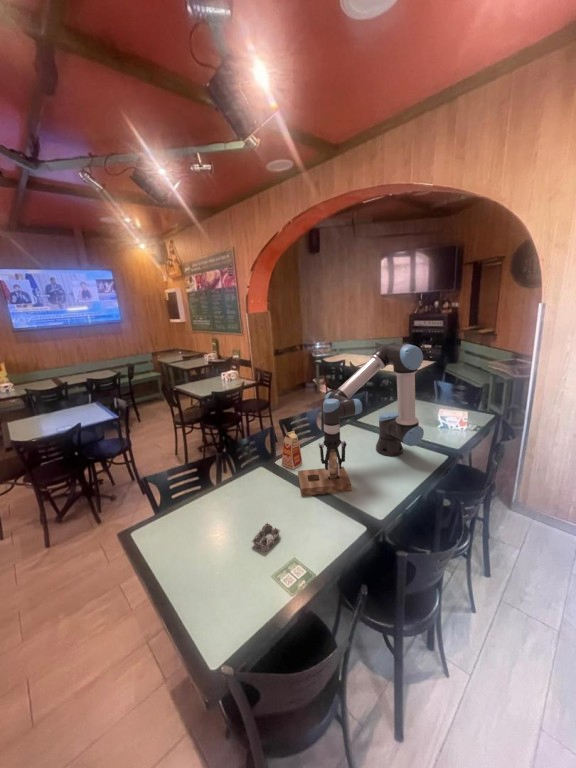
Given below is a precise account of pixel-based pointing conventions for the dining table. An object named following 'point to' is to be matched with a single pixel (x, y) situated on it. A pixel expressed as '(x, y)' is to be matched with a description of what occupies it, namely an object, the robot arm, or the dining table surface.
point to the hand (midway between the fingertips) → (333, 474)
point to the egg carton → (263, 543)
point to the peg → (333, 465)
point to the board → (323, 482)
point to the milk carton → (291, 451)
